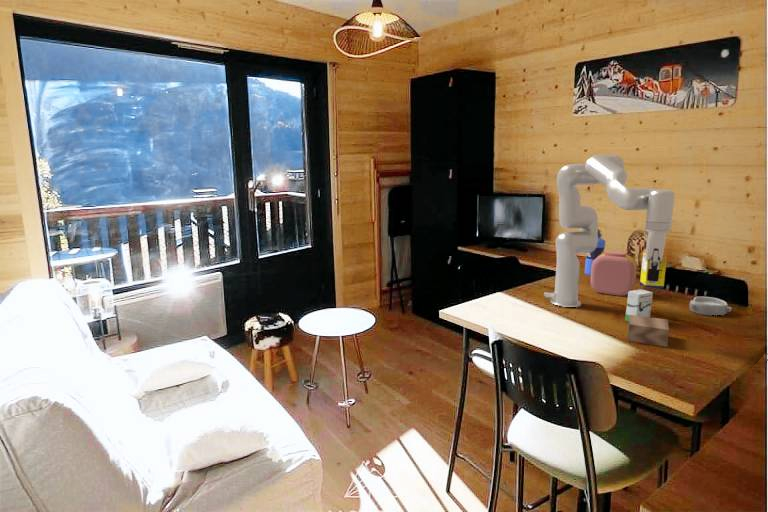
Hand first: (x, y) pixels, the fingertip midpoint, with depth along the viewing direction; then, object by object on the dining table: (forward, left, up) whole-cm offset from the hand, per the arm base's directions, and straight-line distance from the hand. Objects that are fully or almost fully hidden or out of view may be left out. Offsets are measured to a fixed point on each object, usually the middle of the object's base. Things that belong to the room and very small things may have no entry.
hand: (652, 278), depth 167 cm
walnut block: (0, 0, -22) cm, 22 cm away
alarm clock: (-14, +61, -22) cm, 66 cm away
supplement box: (0, 0, -3) cm, 3 cm away
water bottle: (-25, +99, -22) cm, 104 cm away
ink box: (-3, +20, -22) cm, 30 cm away
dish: (+23, +47, -22) cm, 57 cm away
